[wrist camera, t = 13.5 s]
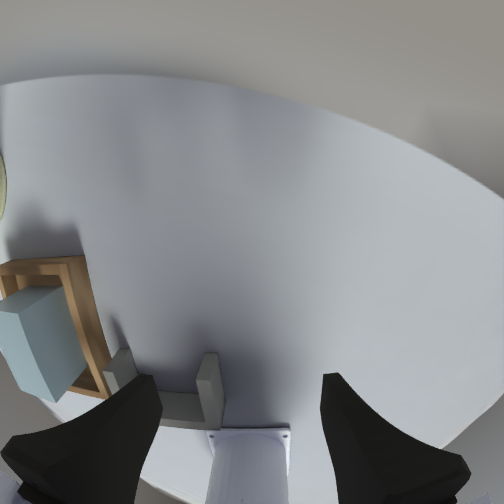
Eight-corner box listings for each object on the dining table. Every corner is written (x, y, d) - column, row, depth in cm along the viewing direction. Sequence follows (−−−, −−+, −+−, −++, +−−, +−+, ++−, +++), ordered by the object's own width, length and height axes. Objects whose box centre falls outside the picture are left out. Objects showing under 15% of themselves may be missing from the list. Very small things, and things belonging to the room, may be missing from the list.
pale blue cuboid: (88, 365, 21) (56, 403, 16) (53, 358, 22) (21, 390, 16) (63, 285, 20) (17, 313, 14) (28, 285, 20) (-14, 308, 14)
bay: (225, 402, 22) (220, 430, 19) (136, 395, 23) (123, 419, 19) (217, 352, 21) (209, 380, 17) (120, 348, 21) (102, 370, 18)
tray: (120, 384, 22) (110, 400, 20) (46, 368, 23) (34, 380, 20) (84, 255, 19) (66, 263, 17) (11, 260, 20) (-5, 267, 18)
